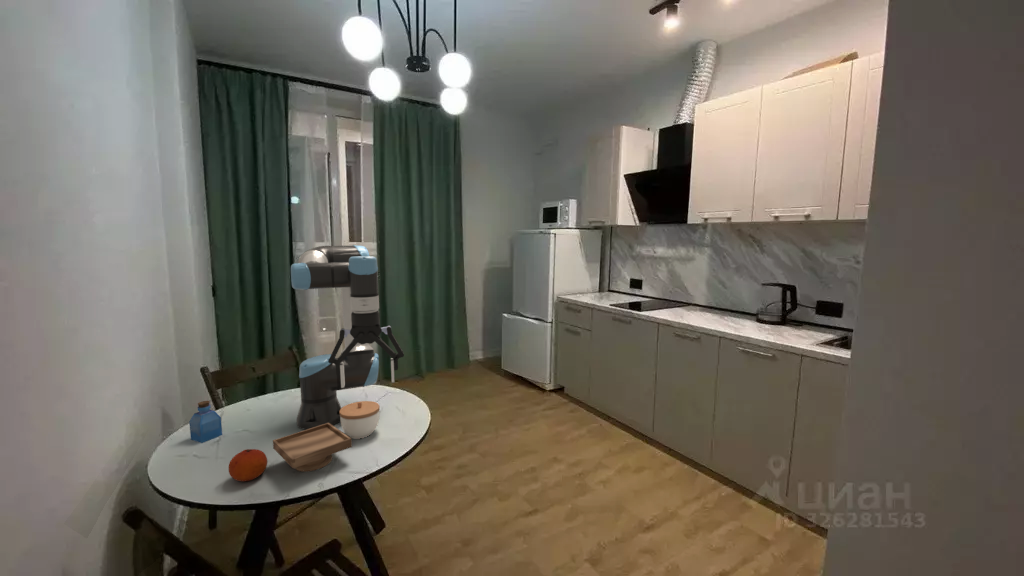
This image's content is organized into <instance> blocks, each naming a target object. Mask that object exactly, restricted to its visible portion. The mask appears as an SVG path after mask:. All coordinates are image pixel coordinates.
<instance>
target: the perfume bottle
mask: <svg viewBox="0 0 1024 576" xmlns="http://www.w3.org/2000/svg"><path fill="white" fill-rule="evenodd" d="M197 405H198V406H197V412H195V413H194V414H193V415H192V416H191V418H190V420H189V433H190V440H192V441H194V442H196V443H197V442H198V443H200V444H203V443H206V442H208V441H210V440H211V441H212V440H213V439H216V438H219V437H221V436H223V427H222V426H223V425H222V418H221V416H220V414H219V413H217V411H216V410H212V409H211V407H212V406H211V404H210V400H204V401H203V400H202V401H199V402H198V403H197Z"/></svg>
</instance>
